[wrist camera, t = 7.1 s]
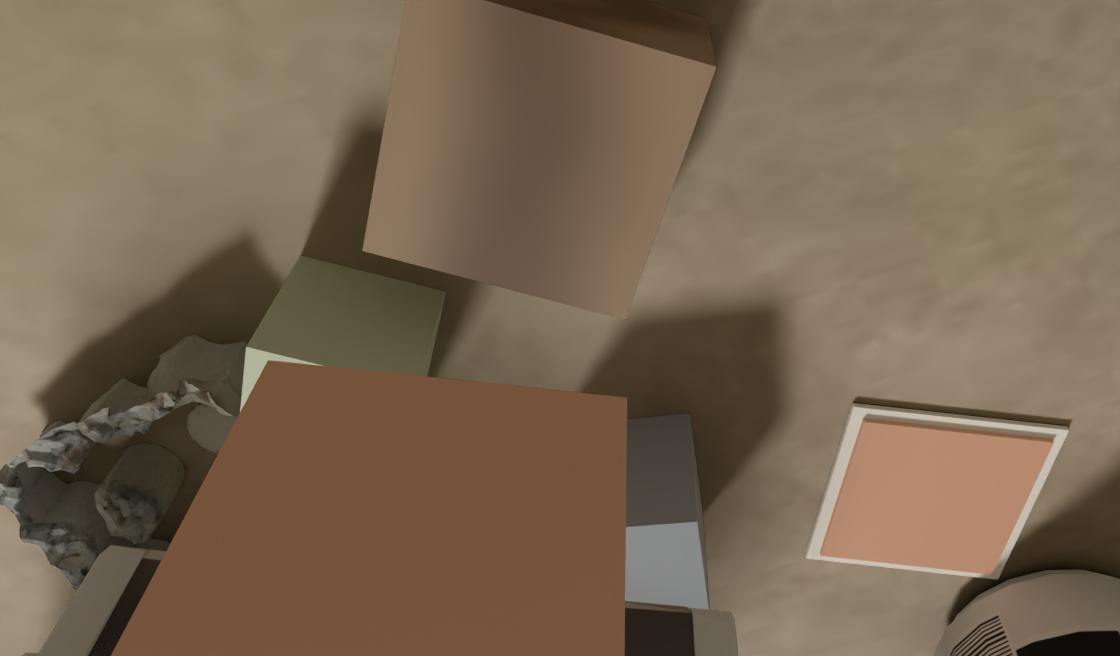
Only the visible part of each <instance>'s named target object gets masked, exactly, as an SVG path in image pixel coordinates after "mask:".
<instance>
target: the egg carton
mask: <svg viewBox="0 0 1120 656" xmlns="http://www.w3.org/2000/svg"><path fill="white" fill-rule="evenodd" d="M246 346H247V343H246V342H238V343H233V344H216V343H212V342H209V341H206V340H204V339H203V338H201V337H199V336H197V335H191V336H188V337H186V338H184V339H182V340H181V341H179V342H178V343H177V344H176V345H174V346H173V347H172V348H171V349H170V350H168V351H166V352H165V353H164V354H162V355H161V356H159V358H160V361H159V363H158V365H157V367H156V368H155V369H154V371H153V372H152V373H151V376H150V378H149V381H148V384H147V387H148V388H146V387H141V386H138V385H136V384H134V383H132V382H130V381H128V380H127V379H125V378H122V379H121V380H119V381H118V382H117V383H116V384H115V385H114V386H113V387H112V388H111V389H110V390H108V391H107V392H106V393H105V394H104V395H103V396H101V397H100V398H99V399H98V400H96V401H95V402H94V403H93V404H92V405H91V406H90V407H89V408H88V410H87V412H86V413H84V415H83V417H82V418H81V420H80V422H79V423H78V422H71V423H69V424H66V423H64V422H63V421H61V420H58V421H56V422H54V423H52V424H51V425H49V426H48V427H47V428H46V429H45V430H44V431H43V432H42V433H41V435H40V438H39V439H38V440H37V441H35V442H34V443H33V444H32V445H30V446H29V447H28V448H27V449H26V450H24V451H23V452H22V453H21V454H19V455H18V456H17V457H16V458H15V459H14V460H13V461H12V462H11V463H10V464H9V465H7V464H6V465H4V466H3V468H2V469H1V471H0V504H1V505H5V506H6V507H7V508H8V509H9V510H11V511H12V512H13V513H14V514H15V515H16V517H17V519H18V521H19V523H20V538H21V540H22V541H23V542H28V543H33V544H36V545H39V546H40V547H41V548H42V549H43V550H44V552H45V554H46V556H47V558H48V561H50V564H52V565H54V566H56V567H58V568H59V569H61V570H62V571H63V572H64V574H65V575H66V577H67V578H68V579H69V581H70V582H71V583H72V585H73V587H74V589H77V588H79V587H80V585H81V584H82V582H83V580H84V579H85V577H86V575H87V574H88V572H89V571H90V569H91V567H92V566H93V564H94V562H95V561H96V559H97V557H98V556H99V555H100V554H101V553H102V552H103V551H104V550H106V549H107V548H108V547H109V546H110V545H115V546H123V547H131V548H140V549H148V550H158V551H165V552H166V551H167V549H168V547H169V545H170V543H168V542H166V541H162V540H159V539H150V537H151V536H152V534H153V532H154V530H155V528H157V527H158V526H159V524H160V523H161V521H162V520H163V518H164V516H165V515H166V513H167V511H168V510H169V508H170V506H171V504H172V502H173V501H174V499H175V497H176V495H177V494H178V492H179V490H180V488H181V486H182V484H183V482H184V477H185V473H184V466H183V464H182V462H181V461H180V460H179V458H178V457H177V456H176V455H174V454H173V453H172V452H171V451H169V450H167V449H165V448H163V447H161V446H158V445H155V444H147V443H142V444H135V445H132V446H130V447H129V448H127V449H126V450H125V451H124V452H123V453H122V455H121V457H120V458H119V460H118V461H117V462H116V464H115V465H114V467H113V468H112V470H111V471H110V473H109V474H108V475H107V477H106V478H105V480H104V481H103V483H102V484H101V485H99V484H96V483H92V482H86V481H79V482H73V483H70V484H67V483H64V482H63V481H62V480H60V479H59V478H58V477H57V476H55V475H54V474H53V473H52V472H54V471H60V470H63V471H66V472H69V473H73V474H75V473H76V472H77V471H78V470H79V469H81V468H82V465H83V463H84V461H85V459H86V457H87V456H88V454H89V452H90V451H91V450H92V449H93V447H94V446H95V445H96V443H97V442H99V443H103V444H105V443H106V442H107V441H108V440H109V439H110V437H111V436H112V435H116V434H121V435H128V436H134V435H135V434H136V433H137V432H140V433H142V434H144V435H145V434H146V433H147V431H148V430H149V428H150V426H151V423H152V421H154V420H157V419H160V418H161V417H163V416H165V415H167V414H168V413H170V412H172V411H173V410H175V409H177V408H179V407H180V406H182V405H185V404H188V403H190V402H201V403H203V404H200V405H196V406H195V407H194V409H193V410H190V413H188V415H187V421H186V425H187V429H188V432H189V434H190V436H191V438H192V439H193V440H194V441H195V442H196V443H197V444H198V445H200V446H201V447H202V448H204V449H206V450H208V451H210V452H213V453H217V454H218V453H219V451H220V449H221V448H222V446H223V444H224V442H225V440H226V438H227V436H228V434H229V433H230V431H231V429H232V427H233V425H234V423H235V421H236V419H237V417H238V416H239V414H240V407H241V396H242V385H243V375H244V364H245V353H246Z"/></svg>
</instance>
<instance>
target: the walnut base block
mask: <svg viewBox="0 0 1120 656" xmlns="http://www.w3.org/2000/svg"><path fill="white" fill-rule="evenodd" d="M715 70H716V62H715V57H714V51H713V46H712V41H711V36H710V31H709V26H708V21H707V19H705V18H702V17H699V16H695V15H692V14H688V13H685V12H681V11H678V10H674V9H671V8H668V7H664V6H661V5H657V4H654V3H650V2H647V1H643V0H406V3H405V8H404V14H403V20H402V25H401V31H400V37H399V43H398V48H397V54H396V60H395V66H394V71H393V77H392V83H391V89H390V94H389V100H388V106H387V112H386V117H385V123H384V129H383V135H382V140H381V146H380V152H379V158H378V163H377V169H376V175H375V181H374V186H373V192H372V198H371V203H370V209H369V215H368V221H367V226H366V232H365V238H364V244H363V249H362V251H364V252H368V253H372V254H376V255H380V256H383V257H387V258H391V259H395V260H399V261H403V262H406V263H410V264H414V265H418V266H422V267H426V268H429V269H433V270H437V271H441V272H445V273H448V274H452V275H456V276H460V277H464V278H468V279H471V280H475V281H479V282H483V283H487V284H491V285H494V286H498V287H502V288H506V289H510V290H513V291H517V292H521V293H525V294H529V295H533V296H536V297H540V298H544V299H548V300H552V301H556V302H559V303H563V304H567V305H571V306H575V307H578V308H582V309H586V310H590V311H594V312H598V313H601V314H605V315H609V316H613V317H617V318H621V319H624V320H625V319H626V316H627V313H628V311H629V308H630V305H631V302H632V300H633V297H634V294H635V291H636V289H637V286H638V283H639V280H640V277H641V275H642V272H643V269H644V266H645V264H646V261H647V258H648V255H649V253H650V250H651V247H652V244H653V241H654V239H655V236H656V233H657V230H658V228H659V225H660V222H661V219H662V217H663V214H664V211H665V208H666V205H667V203H668V200H669V197H670V194H671V192H672V189H673V186H674V183H675V181H676V178H677V175H678V172H679V169H680V167H681V164H682V161H683V158H684V156H685V153H686V150H687V147H688V145H689V142H690V139H691V136H692V133H693V131H694V128H695V125H696V122H697V120H698V117H699V114H700V111H701V109H702V106H703V103H704V100H705V97H706V95H707V92H708V89H709V86H710V84H711V81H712V78H713V75H714V73H715Z"/></svg>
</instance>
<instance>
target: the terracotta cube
mask: <svg viewBox="0 0 1120 656" xmlns="http://www.w3.org/2000/svg"><path fill="white" fill-rule="evenodd" d="M626 465H627V397H617V396H608V395H598V394H588V393H579V392H569V391H560V390H550V389H540V388H531V387H521V386H512V385H502V384H492V383H483V382H473V381H464V380H454V379H444V378H435V377H425V376H416V375H406V374H396V373H387V372H377V371H368V370H358V369H348V368H339V367H329V366H320V365H310V364H300V363H291V362H281V361H272V360H268V361H267V363H266V365H265V367H264V369H263V370H262V372H261V374H260V376H259V378H258V380H257V382H256V384H255V385H254V387H253V389H252V391H251V393H250V395H249V397H248V399H247V401H246V402H245V404H244V406H243V408H242V410H241V412H240V414H239V416H238V417H237V419H236V421H235V423H234V425H233V427H232V429H231V431H230V433H229V434H228V436H227V438H226V440H225V442H224V444H223V446H222V448H221V449H220V451H219V453H218V455H217V457H216V459H215V461H214V463H213V465H212V466H211V468H210V470H209V472H208V474H207V476H206V478H205V480H204V481H203V483H202V485H201V487H200V489H199V491H198V493H197V495H196V496H195V498H194V500H193V502H192V504H191V506H190V508H189V510H188V512H187V513H186V515H185V517H184V519H183V521H182V523H181V525H180V527H179V528H178V530H177V532H176V534H175V536H174V538H173V540H172V542H171V544H170V545H169V547H168V549H167V551H166V553H165V555H164V557H163V559H162V560H161V562H160V564H159V566H158V568H157V570H156V572H155V574H154V576H153V577H152V579H151V581H150V583H149V585H148V587H147V589H146V591H145V592H144V594H143V596H142V598H141V600H140V602H139V604H138V606H137V608H136V609H135V611H134V613H133V615H132V617H131V619H130V621H129V623H128V624H127V626H126V628H125V630H124V632H123V634H122V636H121V638H120V640H119V641H118V643H117V645H116V647H115V649H114V651H113V653H112V655H111V656H625V563H626Z"/></svg>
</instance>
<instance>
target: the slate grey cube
mask: <svg viewBox="0 0 1120 656" xmlns="http://www.w3.org/2000/svg"><path fill="white" fill-rule="evenodd" d="M625 601H631V602H642V603H652V604H663V605H674V606H684V607H688V608H689V609H690V608H698V609H707V610H710V603H709V589H708V576H707V563H706V549H705V536H704V522H703V511H702V504H701V496H700V488H699V480H698V472H697V465H696V457H695V449H694V441H693V433H692V426H691V418H690V413H688V414H677V415H666V416H656V417H645V418H634V419H627V465H626V563H625Z"/></svg>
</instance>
